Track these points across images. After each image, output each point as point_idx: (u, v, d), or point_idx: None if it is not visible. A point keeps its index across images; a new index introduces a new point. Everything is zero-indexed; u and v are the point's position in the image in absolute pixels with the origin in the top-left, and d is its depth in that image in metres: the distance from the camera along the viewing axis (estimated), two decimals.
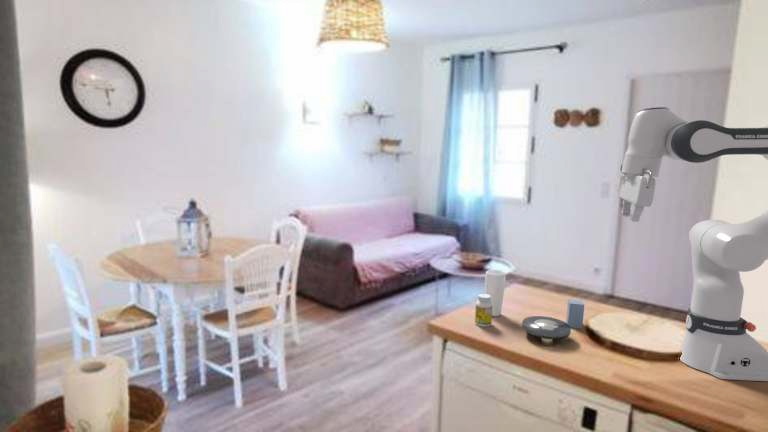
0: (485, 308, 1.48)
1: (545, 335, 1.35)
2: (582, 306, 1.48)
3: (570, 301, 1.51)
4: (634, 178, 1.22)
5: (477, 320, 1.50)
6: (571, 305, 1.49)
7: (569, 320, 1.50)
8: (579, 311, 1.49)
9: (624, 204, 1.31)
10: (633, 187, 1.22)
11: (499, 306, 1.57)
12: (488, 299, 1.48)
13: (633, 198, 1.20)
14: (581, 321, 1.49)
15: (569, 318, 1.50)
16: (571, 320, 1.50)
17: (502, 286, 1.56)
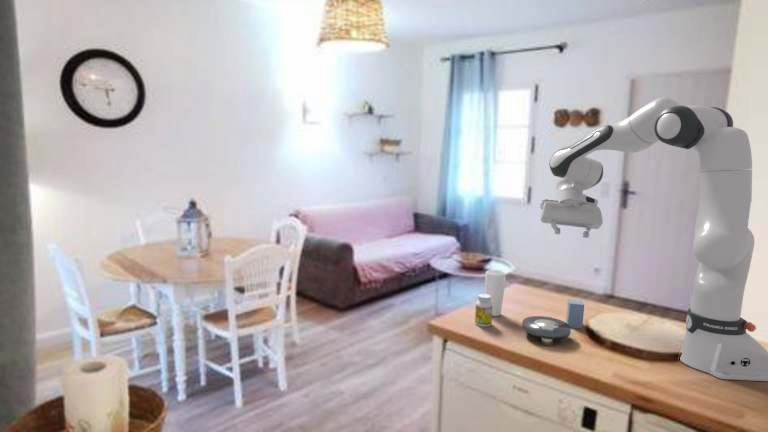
0: (485, 308, 1.48)
1: (545, 335, 1.35)
2: (582, 306, 1.48)
3: (570, 301, 1.51)
4: None
5: (477, 320, 1.50)
6: (571, 305, 1.49)
7: (569, 320, 1.50)
8: (579, 311, 1.49)
9: (587, 230, 1.59)
10: None
11: (499, 306, 1.57)
12: (488, 299, 1.48)
13: None
14: (581, 321, 1.49)
15: (569, 318, 1.50)
16: (571, 320, 1.50)
17: (502, 286, 1.56)
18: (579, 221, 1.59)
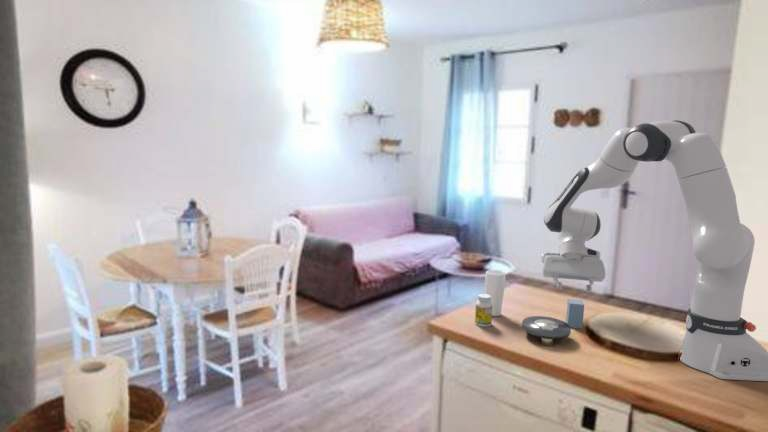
0: (485, 308, 1.48)
1: (545, 335, 1.35)
2: (582, 306, 1.48)
3: (570, 301, 1.51)
4: None
5: (477, 320, 1.50)
6: (571, 305, 1.49)
7: (569, 320, 1.50)
8: (579, 311, 1.49)
9: None
10: None
11: (499, 306, 1.57)
12: (488, 299, 1.48)
13: None
14: (581, 321, 1.49)
15: (569, 318, 1.50)
16: (571, 320, 1.50)
17: (502, 286, 1.56)
18: (581, 275, 1.58)
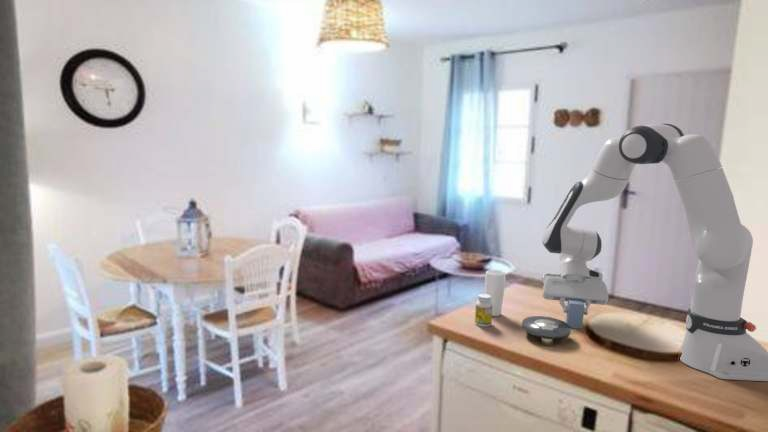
0: (485, 309, 1.48)
1: (545, 335, 1.35)
2: (582, 306, 1.48)
3: (570, 301, 1.51)
4: None
5: (477, 320, 1.50)
6: (571, 305, 1.49)
7: (569, 320, 1.50)
8: (579, 310, 1.49)
9: (586, 306, 1.52)
10: None
11: (499, 306, 1.57)
12: (488, 299, 1.48)
13: (553, 296, 1.57)
14: (581, 321, 1.49)
15: (569, 318, 1.50)
16: (572, 320, 1.50)
17: (502, 286, 1.56)
18: (583, 297, 1.52)
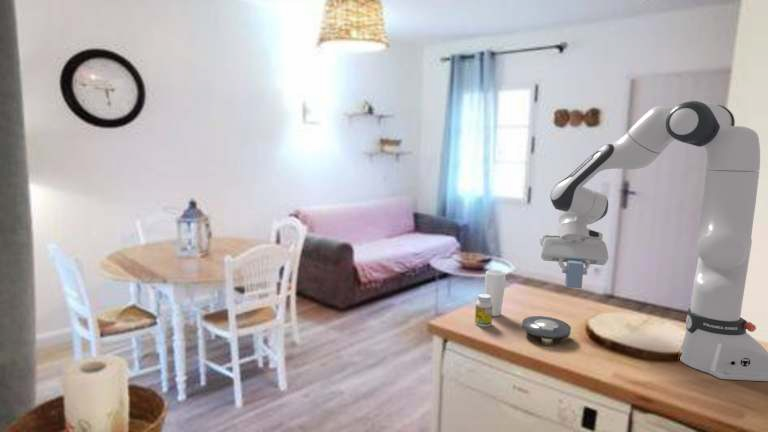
0: (485, 308, 1.48)
1: (545, 335, 1.35)
2: (581, 265, 1.45)
3: (569, 261, 1.47)
4: None
5: (477, 320, 1.50)
6: (570, 264, 1.45)
7: (568, 280, 1.46)
8: (578, 270, 1.45)
9: (586, 266, 1.48)
10: None
11: (499, 306, 1.57)
12: (488, 299, 1.48)
13: (552, 258, 1.53)
14: (580, 281, 1.45)
15: (568, 278, 1.46)
16: (571, 280, 1.46)
17: (502, 286, 1.56)
18: (582, 257, 1.48)
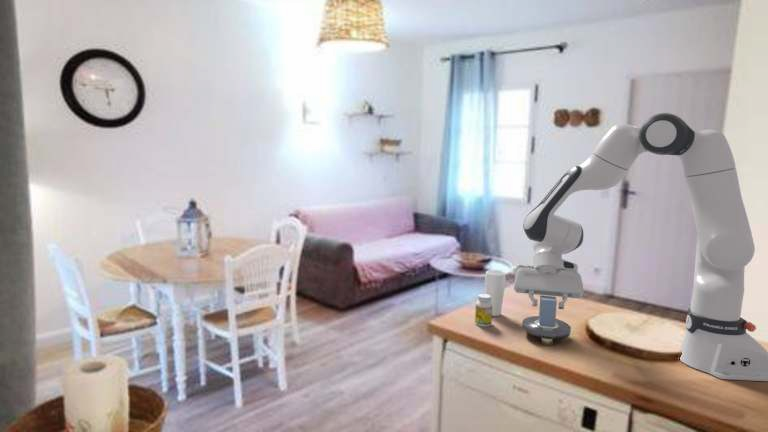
0: (485, 308, 1.48)
1: (545, 335, 1.35)
2: (554, 302, 1.38)
3: (542, 297, 1.41)
4: None
5: (477, 320, 1.50)
6: (543, 301, 1.39)
7: (541, 318, 1.39)
8: (551, 307, 1.38)
9: None
10: None
11: (499, 306, 1.57)
12: (488, 299, 1.48)
13: (525, 289, 1.46)
14: (554, 319, 1.38)
15: (541, 315, 1.39)
16: (543, 317, 1.39)
17: (502, 286, 1.56)
18: (556, 290, 1.41)
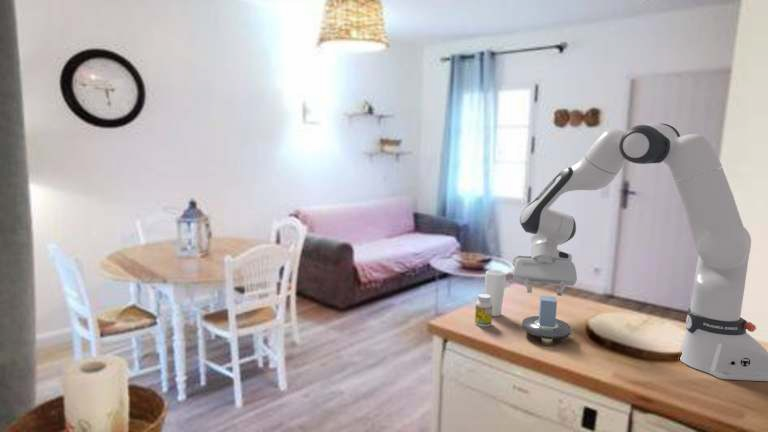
0: (485, 308, 1.48)
1: (545, 335, 1.35)
2: (554, 303, 1.38)
3: (542, 298, 1.40)
4: None
5: (477, 320, 1.50)
6: (543, 302, 1.38)
7: (541, 318, 1.39)
8: (551, 308, 1.38)
9: None
10: None
11: (499, 306, 1.57)
12: (488, 299, 1.48)
13: None
14: (554, 319, 1.38)
15: (541, 316, 1.39)
16: (543, 318, 1.39)
17: (502, 286, 1.56)
18: (552, 278, 1.53)
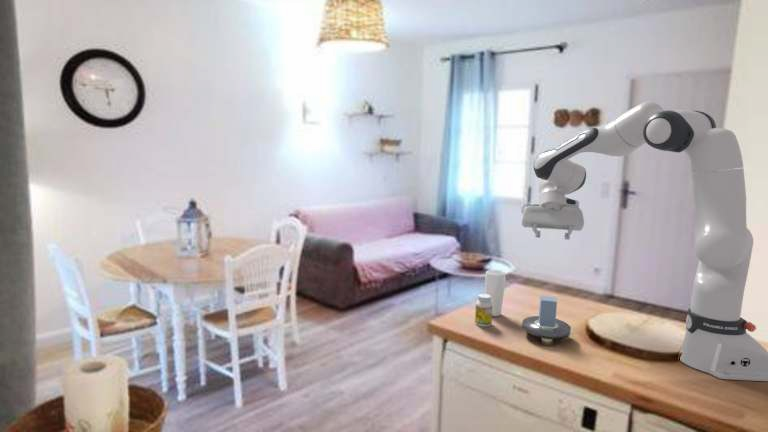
0: (485, 308, 1.48)
1: (545, 335, 1.35)
2: (554, 303, 1.38)
3: (542, 298, 1.40)
4: None
5: (477, 320, 1.50)
6: (543, 302, 1.38)
7: (541, 318, 1.39)
8: (551, 308, 1.38)
9: (569, 232, 1.58)
10: None
11: (499, 306, 1.57)
12: (488, 299, 1.48)
13: None
14: (554, 319, 1.38)
15: (541, 316, 1.39)
16: (543, 318, 1.39)
17: (502, 286, 1.56)
18: (559, 223, 1.58)
